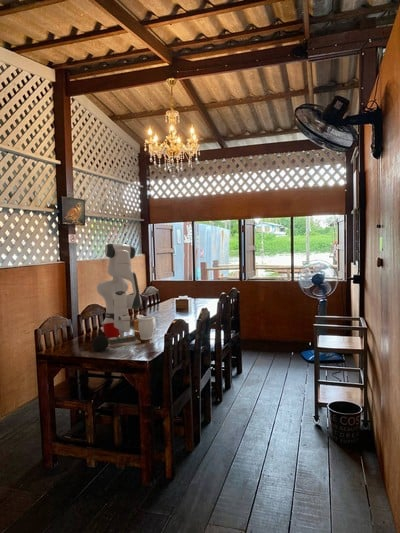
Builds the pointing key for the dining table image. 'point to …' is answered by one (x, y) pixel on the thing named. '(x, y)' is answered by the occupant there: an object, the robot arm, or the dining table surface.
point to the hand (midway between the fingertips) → (121, 336)
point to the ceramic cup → (110, 330)
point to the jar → (146, 327)
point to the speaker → (100, 343)
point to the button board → (122, 341)
